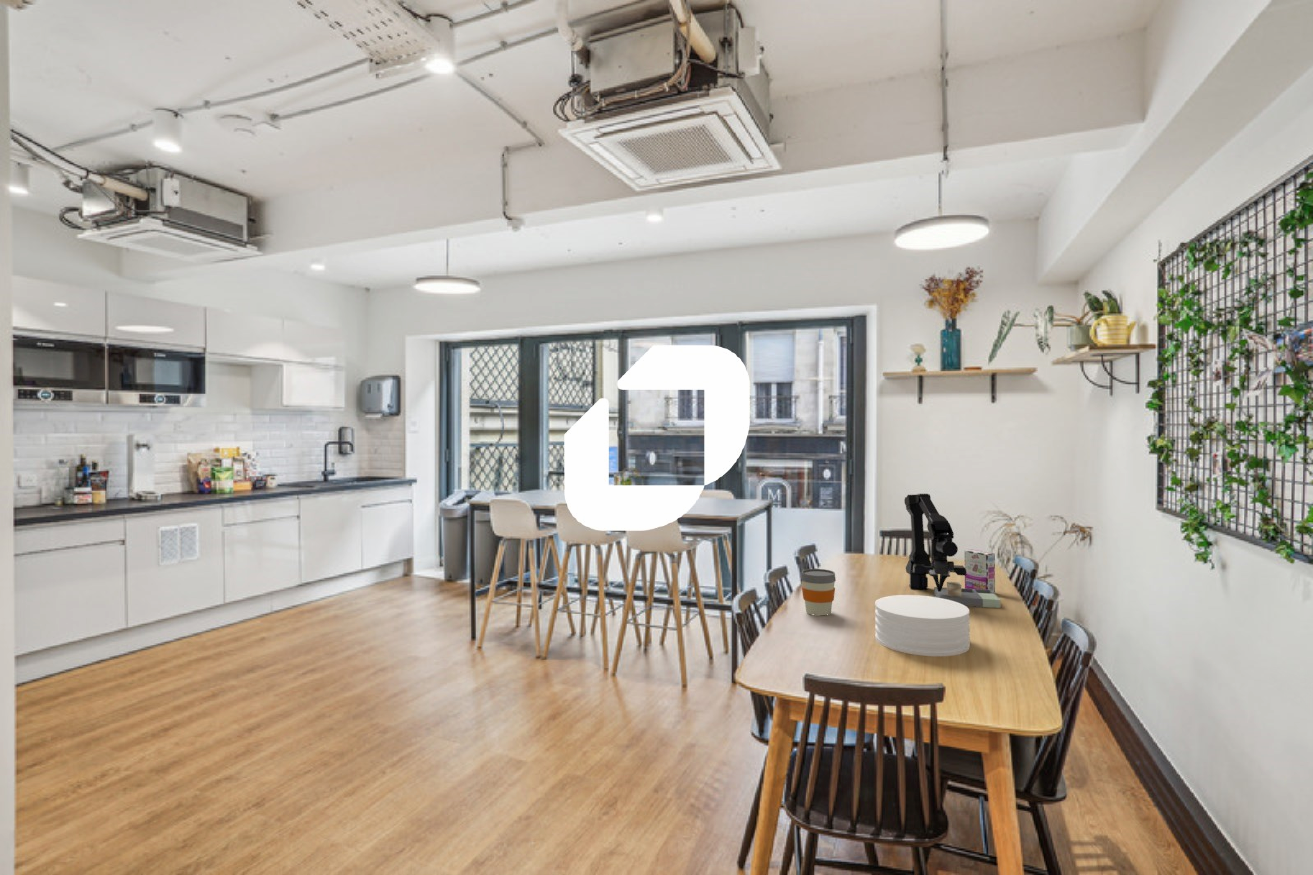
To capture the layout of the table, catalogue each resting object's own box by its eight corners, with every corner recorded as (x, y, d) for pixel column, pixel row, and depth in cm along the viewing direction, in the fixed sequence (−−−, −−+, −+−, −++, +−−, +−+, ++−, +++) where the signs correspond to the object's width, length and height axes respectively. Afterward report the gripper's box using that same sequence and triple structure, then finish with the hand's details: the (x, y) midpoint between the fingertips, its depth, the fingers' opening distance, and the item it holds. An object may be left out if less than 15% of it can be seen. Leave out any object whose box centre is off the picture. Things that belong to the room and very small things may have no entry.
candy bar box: (995, 593, 268) (995, 553, 268) (987, 594, 266) (987, 554, 266) (972, 587, 279) (972, 548, 278) (964, 588, 276) (963, 549, 276)
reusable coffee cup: (832, 608, 249) (832, 568, 249) (838, 617, 237) (838, 576, 237) (799, 607, 251) (798, 568, 251) (803, 617, 238) (803, 576, 238)
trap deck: (940, 604, 252) (940, 596, 252) (934, 594, 268) (934, 587, 268) (1000, 607, 247) (1000, 600, 247) (990, 597, 262) (990, 589, 262)
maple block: (948, 596, 253) (948, 584, 253) (946, 593, 258) (946, 581, 258) (961, 596, 252) (961, 585, 252) (959, 593, 256) (959, 582, 256)
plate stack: (911, 661, 193) (911, 622, 193) (858, 632, 220) (857, 598, 220) (990, 651, 201) (990, 613, 200) (929, 625, 227) (929, 592, 227)
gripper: (915, 554, 251) (916, 595, 251) (969, 556, 246) (969, 598, 246) (912, 549, 262) (912, 588, 262) (963, 551, 257) (963, 590, 257)
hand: (939, 591), depth 256 cm, fingers closed
